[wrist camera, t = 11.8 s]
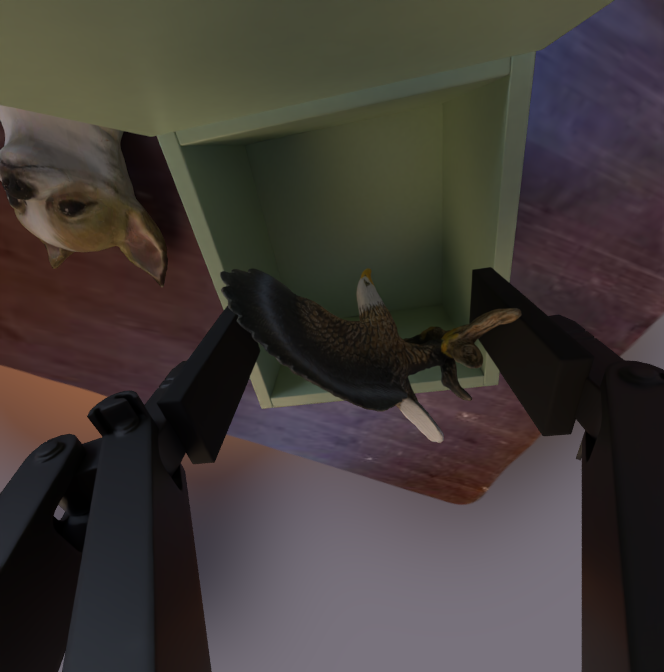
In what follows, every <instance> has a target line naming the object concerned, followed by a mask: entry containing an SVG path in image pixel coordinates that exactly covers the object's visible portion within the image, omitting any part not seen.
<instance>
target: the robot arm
mask: <svg viewBox="0 0 664 672" xmlns="http://www.w3.org/2000/svg"><path fill="white" fill-rule="evenodd" d="M507 308H518V309H520V311H521V316H520V317H519V318H518V319H517V320H515V321H513V322H511V323H507V324H501V325H498V326H496V327H494V328H493V329H491V330H489V331H488V332H486V333H485V334H483V335H482V336H481V337H480V338H478V340H479V341H480V343H481V344H482V346H483V347H484V349H485V350H486V352H487V353H488V355H489V356H490V358H491V359H492V361H493V362H494V364H495V365H496V367H497V368H498V370H499V371H500V373H501V374H502V376H503V377H504V379H505V380H506V382H507V383H508V385H509V386H510V388H511V389H512V391H513V392H514V394H515V395H516V397H517V398H518V400H519V401H520V403H521V404H522V406H523V407H524V409H525V410H526V412H527V413H528V415H529V416H530V418H531V419H532V421H533V422H534V424H535V425H536V427H537V428H538V430H539V431H540V433H541V434H542V436H553V435H566V434H571V433H572V430H573V426H574V423H575V420H576V419H577V421H578V422H579V423H580V424H581V426H582V427H583V428H584V429H585V433H584V436H583V439H582V442H581V445H580V448H579V451H578V454H577V457H576V459H579V460H581V458H582V672H664V370H663V369H661V368H658V367H656V366H653V365H650V364H647V363H642V362H637V361H625V360H623V359H622V358H621V357H619V356H618V355H617V354H616V353H614V352H613V351H612V350H610V349H609V348H608V347H607V346H605V345H604V344H603V343H602V342H600V341H599V340H598V339H596V338H595V339H594V336H593V335H591V334H590V333H589V332H588V331H585V329H584V328H582V327H581V326H580V325H579V324H577V323H576V322H575V321H573V320H570V319H568V318H565V317H563V316H561V315H553V316H547V315H546V314H545V313H544V312H543V311H541V310H540V309H539V308H538V307H537V306H536V305H534V304H533V303H532V302H531V301H530V300H529V299H527V298H526V297H525V296H524V295H523V294H522V293H521V292H519V291H518V290H517V289H516V288H515V287H514V286H512V285H511V284H510V283H509V282H508V281H507V280H506V279H504V278H503V277H502V276H501V275H500V274H499V273H497V272H496V271H495V270H494V269H493V268H492V267H488V268H481V269H474V270H472V284H471V301H470V318H469V324H470V323H472V321H473V320H475V319H476V318H477V317H479V316H481V315H483V314H485V313H487V312H490V311H492V310H495V309H507ZM237 319H238V315H237V314H235V313H234V312H232V311H231V310H230V309H229V308H228V306H227V307H226V308H225V310H224V311H223V312H222V314H221V315H220V316H219V318H218V319H217V321H216V322H215V323H214V325H213V326H212V327H211V329H210V330H209V332H208V333H207V334H206V336H205V337H204V338H203V340H202V341H201V342H200V344H199V345H198V347H197V348H196V349H195V351H194V352H193V353H192V355H191V356H190V358H189V359H188V360H187V361H183V362H181V363H180V364H179V365H177V366H176V367H175V368H174V369H172V370H171V372H170V373H169V374H168V375H167V377H166V378H165V381H163V382H162V383H161V385H160V386H159V388H157V390H156V391H155V392H154V394H153V395H152V396H151V398H150V399H149V400H148V401H147V403H146V404H145V405H144V404H143V402H142V401H141V399H140V398H139V396H138V394H137V393H136V392H134V391H123V392H119V393H116V394H114V395H111V396H109V397H107V398H105V399H104V400H102V401H101V402H99V403H98V404H97V405H96V406H95V407H93V408H92V409H91V410H90V412H89V414H88V416H87V417H88V418H89V420H90V421H91V422H92V424H93V425H94V426H95V427H96V429H97V430H98V431H99V433H100V434H101V435H102V438H99V439H96V440H93V441H90V442H87V443H84V444H81V442H80V441H79V440H78V438H77V437H76V436H75V435H72V434H66V435H61V436H58V437H56V438H52V439H50V440H48V441H47V442H44V443H43V444H41V445H40V446H39V447H38V448H37V449H35V450H34V451H33V452H32V453H31V454H30V455H29V456H28V457H27V458H26V459H25V461H24V462H23V463H22V465H21V466H20V467H19V469H18V470H17V472H16V473H15V474H14V476H13V477H12V478H11V480H10V481H9V483H8V484H7V485H6V487H5V488H4V490H3V491H2V492H1V493H0V672H58V670H59V668H60V665H61V662H62V660H63V657H64V653H65V658H64V663H63V670H62V672H212V671H211V664H210V656H209V649H208V641H207V633H206V626H205V618H204V611H203V603H202V596H201V588H200V580H199V573H198V565H197V558H196V550H195V543H194V535H193V527H192V520H191V512H190V505H189V497H188V489H187V482H186V474H185V470H184V468H183V466H182V465H181V461H182V459H183V457H184V455H185V453H187V455H188V457H189V458H190V460H191V462H192V463H193V464H201V463H214V462H215V460H216V458H217V455H218V453H219V450H220V448H221V445H222V443H223V441H224V438H225V436H226V433H227V431H228V429H229V426H230V424H231V421H232V419H233V416H234V414H235V412H236V409H237V407H238V404H239V402H240V400H241V397H242V395H243V392H244V390H245V387H246V385H247V383H248V380H249V378H250V375H251V373H252V370H253V368H254V366H255V363H256V361H257V358H258V356H259V354H260V351H261V350H260V348H259V345H258V342H256V341H255V340H254V339H253V338H252V333H250V332H249V331H247V330H245V329H244V328H243V327H241V326H240V324H239V323H238V322H237ZM58 505H59V506H60V507H61V508H62V509H63V510H64V511H65V513H64V515H63V517H62V518H61V520H57V519H56V518H55V517H54V512H55V510H56V508H57V506H58ZM65 651H66V652H65Z"/></svg>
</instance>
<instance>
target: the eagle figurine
mask: <svg viewBox="0 0 664 672" xmlns="http://www.w3.org/2000/svg"><path fill="white" fill-rule="evenodd" d="M220 277H221V279H222V281H223V283H224V284H226V287H222V288H221V292H222V294H223V295H224V297H225V298H226V299H227V300H228V308H229V309H230V310H231V311H232V312H234V313H235V314H237V315H238V319H237V322H238V323H239V324H240V326H241V327H243V328H244V329H245V330H247V331H249V332H250V333H252V338H253V339H254V340H255V341H256V342H258V343H260V344H261V345H262V346H263V347H264V349H265V350H266V351H267V352H268V353H269V354H270V355H272V356H274V357H275V358H276V359H277V361H278V362H279V363H280V364H282V365H284V366H287V367H289V368H290V370H291V372H292V373H294V374H296V375H298V376H301V377H303V378H304V379H305V380H307V381H309V382H311V383H313V384H315V385H317V386H319V387H320V388H321V389H323V390H326V391H328V392H330V393H331V394H332V395H333V396H335V397H339V398H340V399H342V400H345V401H348V402H350V403H352V404H355V405H357V406H360V407H362V408H364V409H369V410H375V411H385V410H388V409H389V408H392V407H394V406H395V405H396V406H397V407H399V408H400V410H401V411H402V413H403V414H404V415H405V417H406V418H408V419H409V420H410V421H411V422H412V423H413V424H415V425H416V427H417V428H418V429H419V430H420V431H421V432H422V433H423V434H424V435H425V436H426V437H427V438H428V439H429V440H431V441H432V442H438V443H441V442H442V441H443V440H444V438H443V437H444V435H443V433H442V431H441V429H440V428H439V427H438V425H437V424H436V423H435V421H434V420H433V419H432V417H431V416H430V415H429V413H428V412H427V411H426V410H425V409H424V408H423V407H422V405H421V404H420V403H419V402H418V401H417V398H416V396H415V393H414V391H413V389H412V387H411V384H410V381H409V379H408V376H409V375H413V374H416V373H417V372H419V371H422V370H425V369H430V368H431V367H435V366H440V368H441V374H442V376H441V382H442V385H443V386H445V387H447V388H449V389H450V390H451V391H452V392H454V393H455V394H456V395H457V396H458V397H460V398H461V399H463V400H468V401H471V400H472V397H471V396H470V395H469V394H468V393H467V392H466V391H465V390H464V389H463V388H462V387H461V386H460V384H459V381H458V378H457V367H456V362H458V363H461V364H463V365H464V366H466V367H468V368H471V369H473V368H479V367H481V366H482V364H483V356H482V353H481V351H480V350H479V348H478V347H477V346H476V345H475V344H474V343H475V342H476V340H477V339H478V338H480V337H481V336H482V335H483V334H485V333H486V332H488V331H489V330H491V329H493V328H494V327H496V326H498V325H501V324H507V323H511V322H513V321H515V320H517V319H518V318H519V317H520V316H521V311H520V309H518V308H507V309H495V310H492V311H490V312H487V313H485V314H483V315H481V316H479V317H477V318H476V319H475V320H473V321H472V323H470V324H466V325H463V326H460V327H457V328H454V329H452V330H448V331H445V330H443V329H441V327H433V326H431V327H429V328H427V329H426V330H424V331H422V332H421V334H419V335H416V336H414V337H412V338H404V339H402V338H401V337H400V336H399V334H398V331H397V326H396V324H395V322H394V320H393V318H392V316H391V314H390V311H389V310H388V309H387V308H386V306H385V304H384V303H383V301H382V299H381V298H380V296H379V294H378V293H377V291H376V288H375V286H374V284H373V282H372V279H371V269H369V268H367V269H365V270H364V271H363V272H362V275H361V278H360V280H359V283H358V286H357V302H358V309H359V319H360V321H348V320H344V319H341V318H339V317H337V316H335V315H333V314H332V313H330V312H329V311H327V310H326V309H324V308H323V307H322V306H321V305H319V304H317V303H316V302H314V301H312V300H310V299H307V298H304V297H301V296H298V295H296V294H294V293H293V292H292V291H291V290H290V289H289V288H288V287H287V286H286V285H284V284H283V283H281V282H280V281H278V280H277V279H275V278H274V277H272V276H270V275H269V274H266V273H264V272H262V271H260V270H257V269H254V268H252V269H249V270H248V272H246V271H242V270H239V269H233V270H231V272H230V273H229V272H225V271H222V272H220ZM455 361H456V362H455Z"/></svg>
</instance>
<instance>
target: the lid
mask: <svg viewBox="0 0 664 672" xmlns="http://www.w3.org/2000/svg"><path fill="white" fill-rule="evenodd" d="M613 1H614V0H0V105H3V106H8V107H13V108H17V109H22V110H27V111H32V112H36V113H41V114H46V115H51V116H55V117H60V118H65V119H69V120H74V121H79V122H84V123H88V124H93V125H98V126H103V127H107V128H112V129H117V130H121V131H126V132H131V133H136V134H140V135H145V136H150V137H152V136H157V135H161V134H166V133H170V132H175V131H179V130H184V129H188V128H193V127H197V126H202V125H206V124H211V123H215V122H220V121H224V120H229V119H233V118H237V117H242V116H246V115H251V114H255V113H260V112H264V111H269V110H273V109H278V108H282V107H287V106H291V105H296V104H300V103H305V102H309V101H314V100H318V99H323V98H327V97H332V96H336V95H341V94H345V93H350V92H354V91H359V90H363V89H367V88H372V87H376V86H381V85H385V84H390V83H394V82H399V81H403V80H408V79H412V78H417V77H421V76H426V75H430V74H435V73H439V72H444V71H448V70H453V69H457V68H462V67H466V66H471V65H475V64H480V63H484V62H489V61H493V60H498V59H502V58H506V57H511V56H515V55H520V54H524V53H529V52H533V51H538V50H542V49H544V48H545V47H547V46H548V45H550V44H551V43H553V42H554V41H556V40H557V39H558V38H560V37H561V36H563V35H564V34H566V33H567V32H569V31H570V30H572V29H573V28H575V27H576V26H577V25H579V24H580V23H582V22H583V21H585V20H586V19H588V18H589V17H591V16H592V15H594V14H595V13H596V12H598V11H599V10H601V9H602V8H604V7H605V6H607V5H608V4H610V3H611V2H613Z"/></svg>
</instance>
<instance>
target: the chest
mask: <svg viewBox="0 0 664 672" xmlns="http://www.w3.org/2000/svg"><path fill="white" fill-rule="evenodd" d="M535 55H536V51H533V52H529V53H524V54H520V55H515V56H511V57H506V58H502V59H498V60H493V61H489V62H484V63H480V64H475V65H471V66H466V67H462V68H457V69H453V70H448V71H444V72H439V73H435V74H430V75H426V76H421V77H417V78H412V79H408V80H403V81H399V82H394V83H390V84H385V85H381V86H376V87H372V88H367V89H363V90H359V91H354V92H350V93H345V94H341V95H336V96H332V97H327V98H323V99H318V100H314V101H309V102H305V103H300V104H296V105H291V106H287V107H282V108H278V109H273V110H269V111H264V112H260V113H255V114H251V115H246V116H242V117H237V118H233V119H229V120H224V121H220V122H215V123H211V124H206V125H202V126H197V127H193V128H188V129H184V130H179V131H175V132H170V133H166V134H161V135H157V138H158V140H159V143H160V146H161V148H162V151H163V153H164V156H165V159H166V161H167V164H168V166H169V169H170V172H171V174H172V177H173V179H174V182H175V185H176V187H177V190H178V192H179V195H180V198H181V200H182V203H183V205H184V208H185V211H186V213H187V216H188V218H189V221H190V224H191V226H192V229H193V231H194V234H195V237H196V239H197V242H198V244H199V247H200V250H201V252H202V255H203V257H204V260H205V263H206V265H207V268H208V270H209V273H210V276H211V278H212V281H213V283H214V286H215V289H216V291H217V294H218V296H219V299H220V302H221V304H222V307H223V309H224V310H225V308H226V307H227V306H228V300H227V299H226V298H225V297H224V295H223V294H222V292H221V288H222V287H226V284H224V283H223V281H222V279H221V277H220V272H222V271H225V272H229V273H230V272H231V270H233V269H239V270H242V271H246V272H248V270H249V269H252V268H254V269H257V270H260V271H262V272H264V273H266V274H269V275H270V276H272V277H274V278H275V279H277V280H278V281H280V282H281V283H283V284H284V285H286V286H287V287H288V288H289V289H290V290H291V291H292V292H293V293H294V294H296V295H298V296H301V297H304V298H307V299H310V300H312V301H314V302H316V303H317V304H319V305H321V306H322V307H323V308H324V309H326V310H327V311H329V312H330V313H332V314H333V315H335V316H337V317H339V318H341V319H344V320H348V321H360V319H359V309H358V302H357V286H358V283H359V280H360V278H361V275H362V272H363V271H364V270H365V269H367V268H369V269H371V279H372V282H373V284H374V286H375V288H376V291H377V293H378V294H379V296H380V298H381V299H382V301H383V303H384V304H385V306H386V308H387V309H388V310H389V311H390V314H391V316H392V318H393V320H394V322H395V324H396V326H397V331H398V334H399V336H400V337H401V338H402V339H404V338H412V337H414V336H416V335H419V334H421V332H422V331H424V330H426V329H427V328H429V327H431V326H433V327H441V329H443V330H445V331H448V330H452V329H454V328H457V327H460V326H463V325H466V324H469V318H470V301H471V284H472V270H474V269H481V268H488V267H492V268H493V269H494V270H495V271H496V272H497V273H499V274H500V275H501V276H502V277H503V278H504V279H506V280H507V281H508V282H509V283H510V275H511V266H512V257H513V248H514V240H515V231H516V222H517V213H518V205H519V196H520V187H521V178H522V169H523V161H524V152H525V143H526V134H527V126H528V117H529V108H530V99H531V90H532V82H533V73H534V64H535ZM474 344H475V345H476V346H477V347H478V348H479V350H480V351H481V353H482V356H483V364H482V366H481V367H479V368H473V369H471V368H468V367H466V366H464V365H463V364H461V363H458V362H456V361H455V362H456V367H457V378H458V381H459V384H460V386H461V387H462V388H472V387H482V386H483V385H484V386H491V385H498V380H499V370H498V368H497V367H496V365H495V364H494V362H493V361H492V359H491V358H490V356H489V355H488V353H487V352H486V350H485V349H484V347H483V346H482V344H481V343H480V341H479V340H478V339H477V340H476V342H475V343H474ZM258 345H259V348H260V350H261V351H260V354H259V356H258V358H257V361H256V363H255V366H254V368H253V370H252V373H251V375H250V380H251V382H252V385H253V387H254V390H255V393H256V395H257V398H258V400H259V403H260V406H261V408H262V409H264V408H273V407H274V408H275V407H285V406H295V405H305V404H315V403H324V402H334V401H344V400H342V399H340V398H339V397H335V396H333V395H332V394H331V393H330V392H328V391H326V390H323V389H321V388H320V387H319V386H317V385H315V384H313V383H311V382H309V381H307V380H305V379H304V378H303V377H301V376H298V375H296V374H294V373H292V372H291V370H290V368H289V367H287V366H284V365H282V364H280V363H279V362H278V361H277V359H276V358H275V357H274V356H272V355H270V354H269V353H268V352H267V351H266V350H265V349H264V347H263V346H262V345H261V344H260V343H258ZM441 376H442V374H441V368H440V366H435V367H431V368H430V369H425V370H422V371H419V372H417V373H416V374H413V375H409V376H408V379H409V381H410V384H411V387H412V389H413V391H414V393H423V392H432V391H442V390H450V389H449V388H447V387H445V386H443V385H442V382H441Z"/></svg>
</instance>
